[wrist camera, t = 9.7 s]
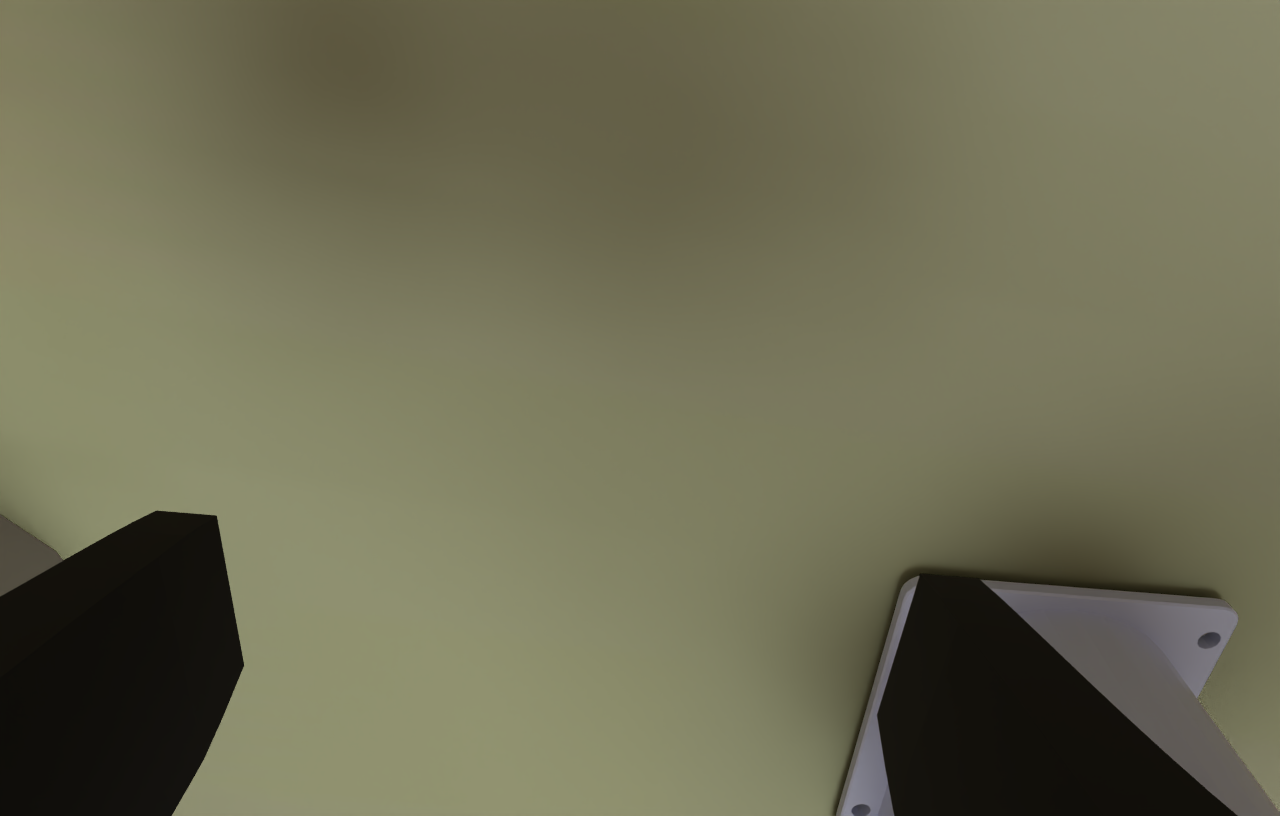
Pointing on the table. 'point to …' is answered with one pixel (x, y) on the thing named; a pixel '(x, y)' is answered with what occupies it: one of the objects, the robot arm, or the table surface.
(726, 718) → the table surface
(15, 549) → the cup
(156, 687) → the robot arm
